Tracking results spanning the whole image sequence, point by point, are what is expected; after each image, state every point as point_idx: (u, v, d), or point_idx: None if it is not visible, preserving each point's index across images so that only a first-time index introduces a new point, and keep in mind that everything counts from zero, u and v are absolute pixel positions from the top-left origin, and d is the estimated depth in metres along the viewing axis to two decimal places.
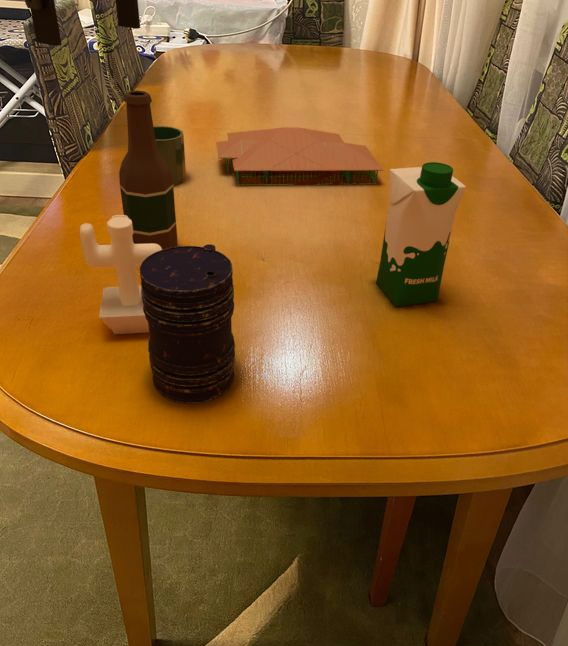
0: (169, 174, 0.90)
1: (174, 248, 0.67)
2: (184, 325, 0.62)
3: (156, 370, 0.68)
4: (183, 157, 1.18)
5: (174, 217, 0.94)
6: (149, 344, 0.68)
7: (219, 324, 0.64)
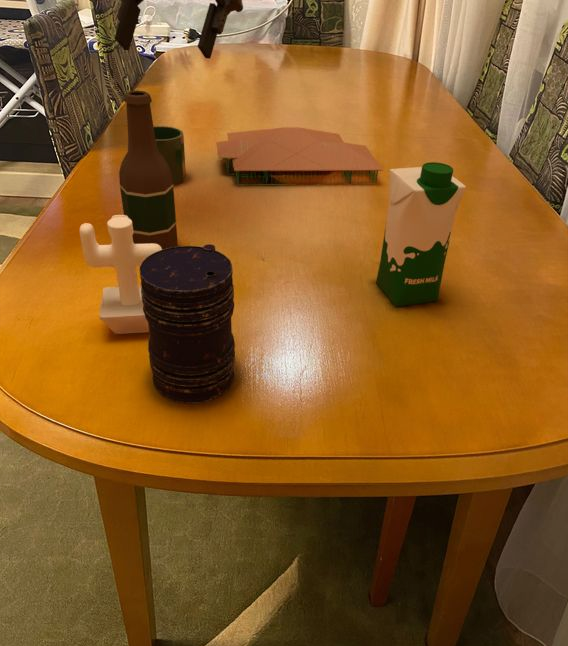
0: (169, 174, 0.90)
1: (174, 248, 0.67)
2: (184, 325, 0.62)
3: (156, 370, 0.68)
4: (183, 157, 1.18)
5: (174, 217, 0.94)
6: (149, 344, 0.68)
7: (218, 324, 0.64)
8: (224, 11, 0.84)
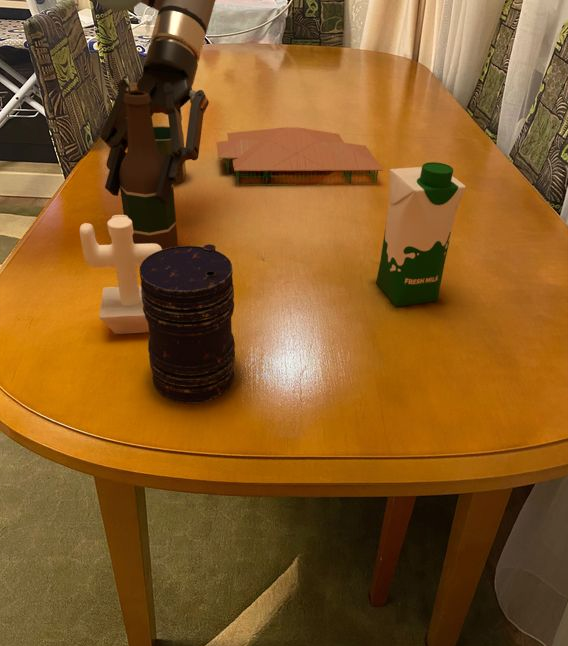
0: None
1: (174, 248, 0.67)
2: (184, 325, 0.62)
3: (156, 370, 0.68)
4: None
5: (174, 217, 0.94)
6: (149, 344, 0.68)
7: (218, 324, 0.64)
8: (180, 161, 0.88)
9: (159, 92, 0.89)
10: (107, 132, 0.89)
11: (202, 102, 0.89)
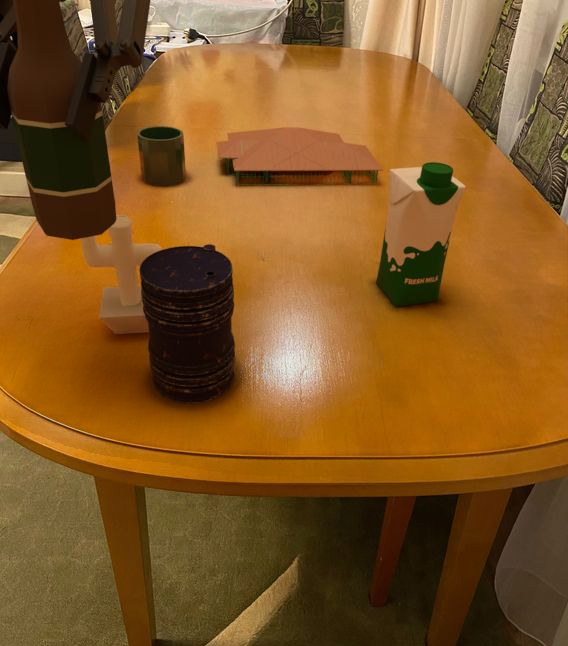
0: None
1: (174, 248, 0.67)
2: (184, 325, 0.62)
3: (156, 370, 0.68)
4: (183, 157, 1.18)
5: (107, 168, 0.57)
6: (149, 344, 0.68)
7: (218, 324, 0.64)
8: (110, 66, 0.51)
9: None
10: None
11: None
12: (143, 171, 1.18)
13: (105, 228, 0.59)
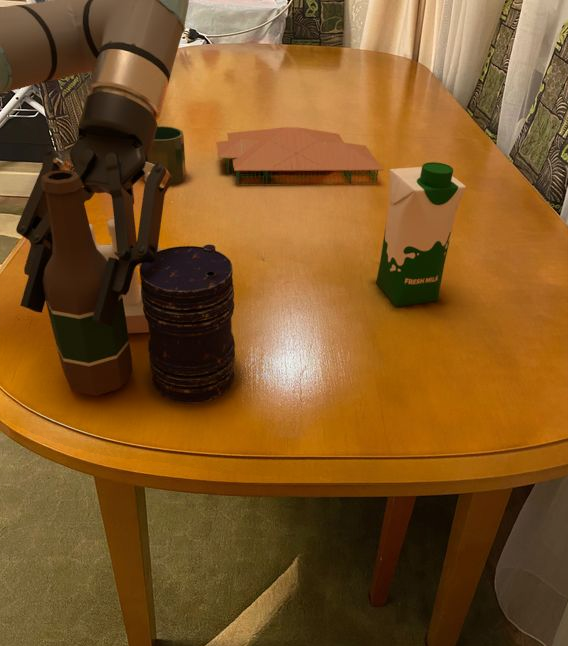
0: None
1: (174, 248, 0.67)
2: (184, 326, 0.62)
3: (156, 370, 0.68)
4: (183, 157, 1.18)
5: (125, 335, 0.67)
6: (149, 344, 0.68)
7: (218, 324, 0.64)
8: (130, 266, 0.61)
9: (100, 165, 0.62)
10: (26, 223, 0.62)
11: (162, 180, 0.62)
12: None
13: (123, 382, 0.69)
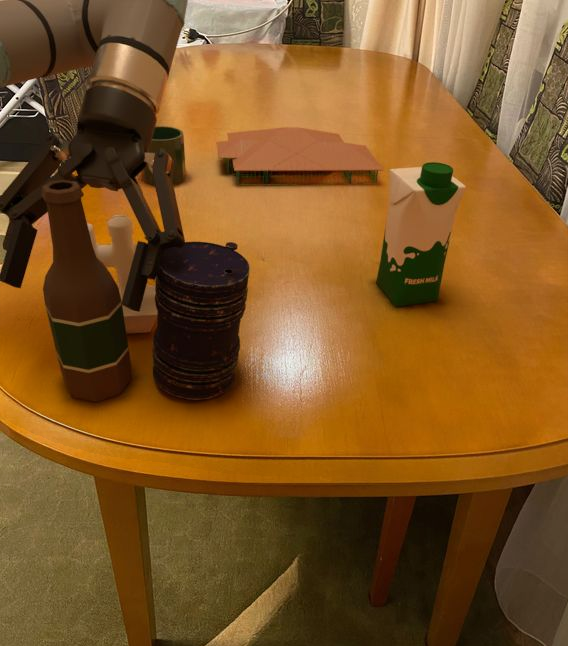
0: (115, 290, 0.63)
1: (191, 242, 0.67)
2: (198, 320, 0.62)
3: (160, 363, 0.67)
4: (183, 157, 1.18)
5: (125, 342, 0.68)
6: (155, 336, 0.68)
7: (231, 322, 0.64)
8: (159, 250, 0.60)
9: (99, 160, 0.62)
10: (5, 200, 0.62)
11: (167, 164, 0.61)
12: (143, 171, 1.18)
13: (122, 389, 0.70)
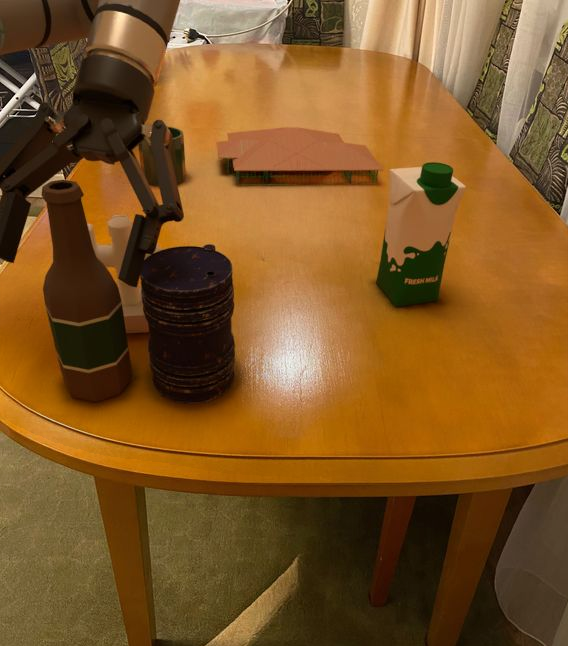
0: (115, 290, 0.63)
1: (174, 248, 0.67)
2: (185, 326, 0.62)
3: (156, 370, 0.68)
4: (183, 157, 1.18)
5: (125, 342, 0.68)
6: (149, 344, 0.68)
7: (219, 324, 0.64)
8: (157, 224, 0.59)
9: (95, 132, 0.60)
10: None
11: (165, 136, 0.60)
12: (143, 171, 1.18)
13: (122, 389, 0.70)
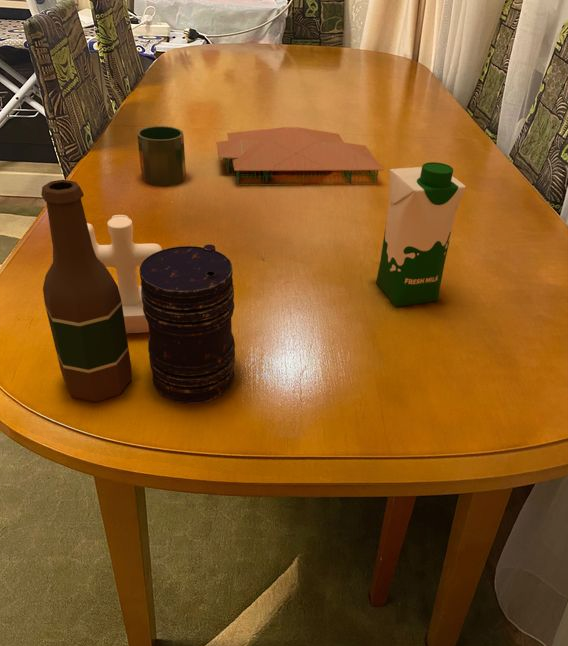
0: (115, 290, 0.63)
1: (174, 248, 0.67)
2: (185, 326, 0.62)
3: (156, 370, 0.68)
4: (183, 157, 1.18)
5: (125, 342, 0.68)
6: (149, 345, 0.68)
7: (219, 324, 0.64)
8: None
9: None
10: None
11: None
12: (143, 171, 1.18)
13: (122, 389, 0.70)
